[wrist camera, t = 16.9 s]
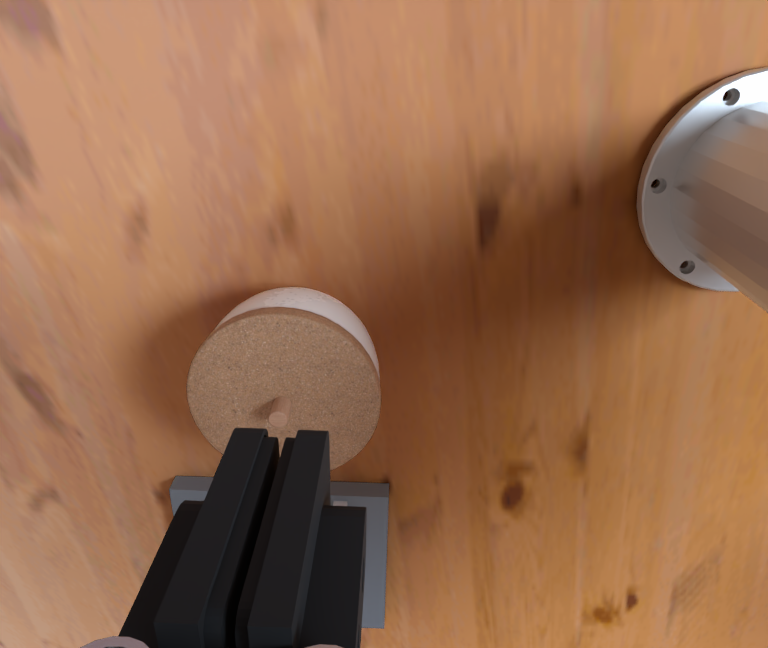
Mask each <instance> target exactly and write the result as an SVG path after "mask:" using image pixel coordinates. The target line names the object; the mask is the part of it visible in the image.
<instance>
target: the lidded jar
mask: <svg viewBox="0 0 768 648" xmlns="http://www.w3.org/2000/svg"><path fill="white" fill-rule="evenodd" d="M186 389H187V400H188V404H189V408H190V412H191V414H192V416H193V419H194V421H195V423H196V425H197V427H198V428H199V430H200V431H201V433H202V434H203V436H204V437H205V438H206V439H207V440H208V441H209V443H210V444H211V445H212V446H213V447H214V448H215V449H216V450H218V451H219V452H220V453H221V454H222V455H223V454H224V451H225V449H226V447H227V444H228V442H229V439H230V437H231V435H232V432H233V430H234V429H235V428H265V429H267V431H268V437H277V438H278V441H279V454H280V455H281V452H282V448H283V445H284V441H285V438H286V437H291V438H296V434H297V431H298V430H322V431H329V442H330V471H331V470H333V469H335V468H337V467H339V466H341V465H343V464H345V463H346V462H348V461H349V460H351V459H352V458H353V457H355V456H356V455H357V454H358V453H359V452H360V451H361V450H362V449H363V448H364V447H365V445H366V444H367V443H368V441H369V440H370V439H371V437H372V435H373V433H374V431H375V429H376V427H377V423H378V420H379V416H380V408H381V388H380V374H379V364H378V359H377V354H376V351H375V347H374V344H373V342H372V340H371V337H370V335H369V333H368V331H367V329H366V327H365V326H364V325H363V323H362V322H361V320H360V319H359V318H358V317H357V316H356V315H355V314H354V313H353V312H352V311H351V309H349V308H348V307H347V306H346V305H344V304H343V303H342V302H340V301H339V300H337V299H335V298H334V297H332V296H330V295H328V294H326V293H323V292H320V291H318V290H313V289H309V288H303V287H282V288H275V289H271V290H266V291H264V292H261V293H259V294H256V295H254V296H252V297H250V298H249V299H247V300H245V301H244V302H242V303H240V304H239V305H237V306H236V307H235V308H234V309H233V310H232V311H230V312H229V313H228V314H227V315H226V316H225V317H224V318H223V319H222V320H221V321H220V323H219V324H218V325H217V326H216V327H215V329H214V330H213V331H212V332H211V333H210V335H209V336H208V337H207V338H206V339H205V341H204V342H203V343H202V344H201V346H200V347H199V349H198V351H197V353H196V355H195V356H194V358H193V360H192V362H191V365H190V369H189V372H188V377H187V386H186Z"/></svg>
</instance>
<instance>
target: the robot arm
mask: <svg viewBox="0 0 768 648" xmlns="http://www.w3.org/2000/svg"><path fill="white" fill-rule="evenodd" d="M726 91H727V92H728V95H727V97H726V98H725V99H724V100H723V95H724V93H725V92H726ZM655 179H657V183H656V184H655V185H654V186H651V184H652V182H653V181H654V180H655ZM637 214H638V221H639V227H640V230H641V232H642V235H643V238H644V240H645V243H646V245H647V246H648V247H649V249H650V250H651V252H652V253H653V255H654V256H655V258H656V259H657V260H658V261H659V262H660V263H661V264H662V265H663V266H664V267H665V268H666V269H667V270H669V271H670V272H671V273H672V274H674V275H675V276H676V277H678V278H679V279H681V280H683V281H685V282H688V283H690V284H692V285H694V286H697V287H700V288H704V289H709V290H714V291H728V292H738V291H740V292H742V293H743V294H744V295H745V296H747V297H748V298H749V299H751V300H752V301H753V302H754V303H756V304H757V305H758V306H759V307H761V308H762V309H763V310H764V311H766V312H767V313H768V67H763V68H757V69H752V70H747V71H744V72H742V73H739V74H736V75H733V76H730V77H728V78H725V79H723V80H721V81H720V82H718V83H716V84H714V85H712V86H711V87H709V88H707V89H705V90H704V91H702V92H701V93H700V94H698V95H697V96H696V97H695V98H693V99H692V100H691V101H689V102H688V103H687V104H686V105H684V106H683V107H682V108H681V109H680V110H679V111H678V113H677V114H676V115H675V116H674V117H673V118H672V119H671V120H670V121H669V122H668V123H667V124H666V126H665V127H664V129H663V130H662V132H661V133H660V135H659V136H658V138H657V139H656V141H655V142H654V144H653V145H652V148H651V150H650V152H649V154H648V156H647V159H646V161H645V163H644V165H643V169H642V173H641V176H640V180H639V184H638V192H637ZM684 261H685V263H684V264H683V265H681V264H682V263H683V262H684ZM366 522H367V509H366V507H357V506H331V494H330V442H329V431H322V430H298V431H297V434H296V438H291V437H286V438H285V441H284V445H283V448H282V452H281V455H280V454H279V441H278V438H277V437H268V431H267V429H265V428H235V429H234V430H233V432H232V435H231V437H230V439H229V442H228V444H227V447H226V449H225V451H224V454H223V456H222V459H221V461H220V463H219V466H218V468H217V471H216V473H215V476H214V478H213V480H212V483H211V485H210V488H209V490H208V492H207V495H206V497H205V500H204V501H192V500H184V501H183V502H182V503H181V504H180V506H179V507H178V509H177V511H176V513H175V515H174V517H173V519H172V522H171V524H170V526H169V528H168V530H167V532H166V535H165V537H164V539H163V541H162V543H161V545H160V547H159V550H158V552H157V554H156V556H155V558H154V560H153V563H152V565H151V567H150V569H149V571H148V573H147V576H146V578H145V580H144V582H143V584H142V586H141V588H140V591H139V593H138V595H137V597H136V599H135V601H134V604H133V606H132V608H131V610H130V612H129V614H128V617H127V619H126V621H125V623H124V625H123V627H122V630H121V632H120V634H119V636H112V637H108V638H104V639H99V640H95V641H93V642H91V643H89V644H87V645H85V646H83V647H80V648H360V643H361V628H362V613H363V598H364V582H365V562H366Z"/></svg>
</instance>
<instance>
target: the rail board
mask: <svg viewBox="0 0 768 648" xmlns="http://www.w3.org/2000/svg"><path fill="white" fill-rule="evenodd" d="M213 478H214V477H194V476H176V477H175V479H174V481H173V483H172V485H171V487H170V489H169V492H170V498H171V504H172V510H173V516H174V515H175V513H176V511H177V509H178V507H179V506H180V504H181V503H182V502H183V501H184V500H192V501H204V500H205V497H206V495H207V492H208V490H209V488H210V485H211V483H212V480H213ZM330 494H331V506H357V507H366V509H367V522H366V562H365V582H364V598H363V613H362V628H383V629H384V618H385V589H386V561H387V533H388V504H389V483H361V482H333V481H330Z"/></svg>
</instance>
